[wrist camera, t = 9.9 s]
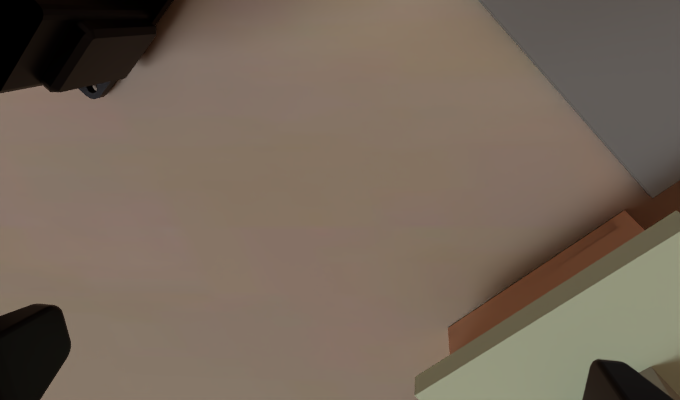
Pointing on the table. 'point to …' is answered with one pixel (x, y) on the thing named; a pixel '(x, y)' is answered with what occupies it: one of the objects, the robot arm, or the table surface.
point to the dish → (544, 279)
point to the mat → (610, 72)
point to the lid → (578, 330)
